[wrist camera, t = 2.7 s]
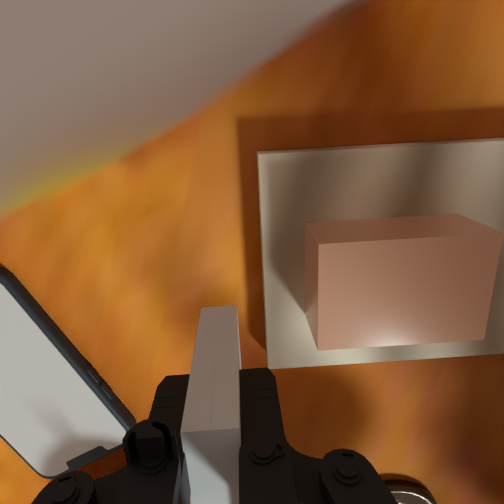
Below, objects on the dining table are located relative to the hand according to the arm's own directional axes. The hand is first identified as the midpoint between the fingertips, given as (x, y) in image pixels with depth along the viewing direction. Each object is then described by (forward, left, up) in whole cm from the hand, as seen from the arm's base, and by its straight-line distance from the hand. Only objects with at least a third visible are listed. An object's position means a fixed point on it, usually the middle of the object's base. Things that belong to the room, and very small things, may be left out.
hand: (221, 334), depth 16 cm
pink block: (-9, 0, -7) cm, 12 cm away
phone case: (+15, +8, -10) cm, 19 cm away
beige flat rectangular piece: (-11, 0, -9) cm, 14 cm away
